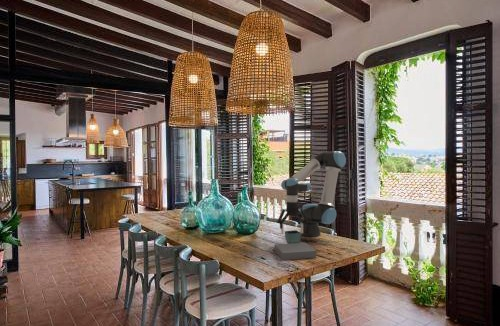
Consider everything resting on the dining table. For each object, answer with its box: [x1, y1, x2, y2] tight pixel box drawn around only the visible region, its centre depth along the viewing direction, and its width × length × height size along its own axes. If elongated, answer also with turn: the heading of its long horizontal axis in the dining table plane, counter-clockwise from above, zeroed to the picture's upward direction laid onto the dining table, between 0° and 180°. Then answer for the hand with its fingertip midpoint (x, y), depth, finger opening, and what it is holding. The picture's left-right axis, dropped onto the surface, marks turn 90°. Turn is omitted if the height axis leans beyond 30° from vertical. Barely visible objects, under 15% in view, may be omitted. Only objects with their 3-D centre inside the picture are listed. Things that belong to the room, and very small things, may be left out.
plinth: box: [274, 242, 317, 261], centre depth 206 cm, size 20×20×4 cm
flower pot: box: [283, 230, 302, 244], centre depth 227 cm, size 9×9×9 cm
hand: (292, 233), depth 227 cm, fingers open, 13 cm apart
